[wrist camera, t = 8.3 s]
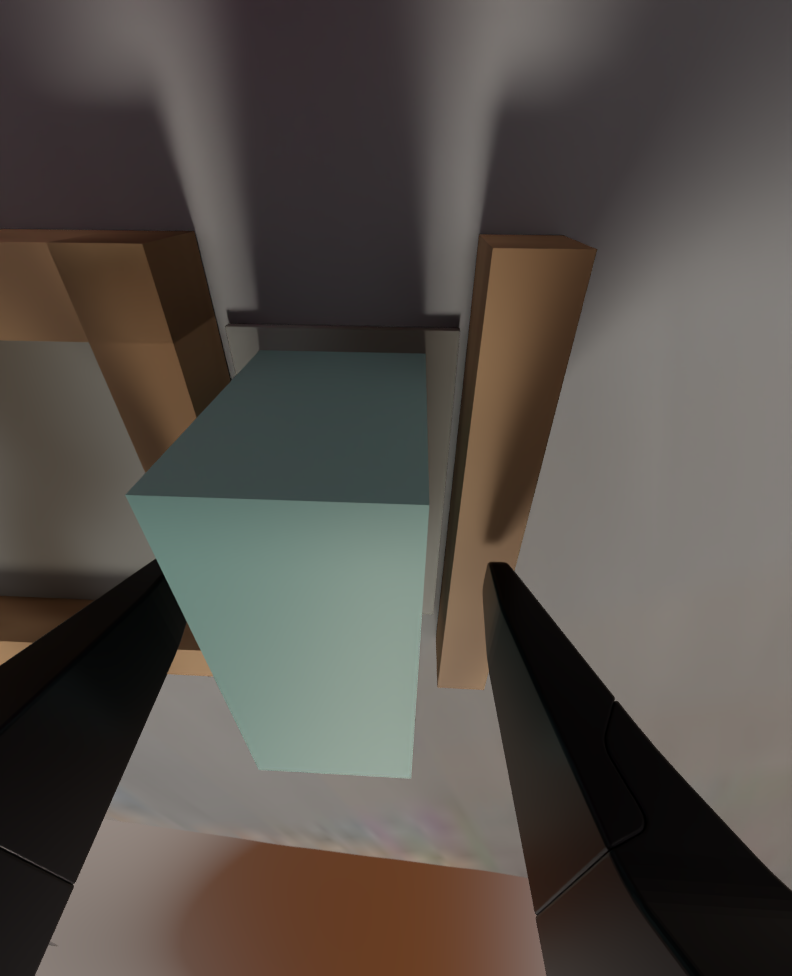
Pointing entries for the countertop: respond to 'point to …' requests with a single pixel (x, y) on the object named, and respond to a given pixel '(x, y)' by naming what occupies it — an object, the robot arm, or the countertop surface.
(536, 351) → the cradle
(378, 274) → the countertop surface
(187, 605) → the wing block
